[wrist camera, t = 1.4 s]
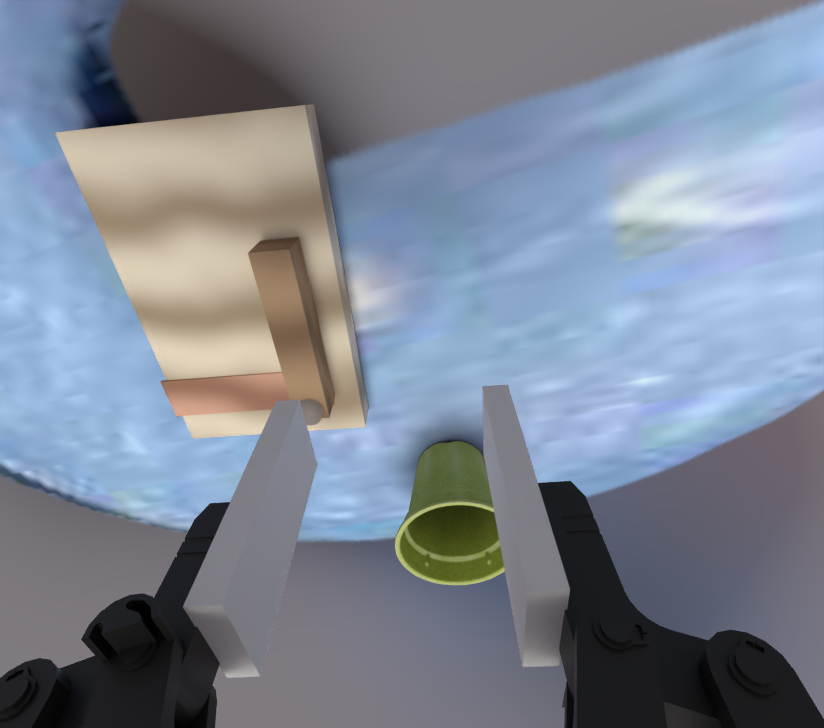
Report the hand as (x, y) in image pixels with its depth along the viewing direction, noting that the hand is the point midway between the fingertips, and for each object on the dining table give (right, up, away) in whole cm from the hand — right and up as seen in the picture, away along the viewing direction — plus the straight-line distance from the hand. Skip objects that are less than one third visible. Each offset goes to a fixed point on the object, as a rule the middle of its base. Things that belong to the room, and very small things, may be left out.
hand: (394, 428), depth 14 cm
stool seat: (-11, +7, +18) cm, 22 cm away
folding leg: (-7, +4, +16) cm, 18 cm away
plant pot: (+4, -7, +26) cm, 28 cm away
